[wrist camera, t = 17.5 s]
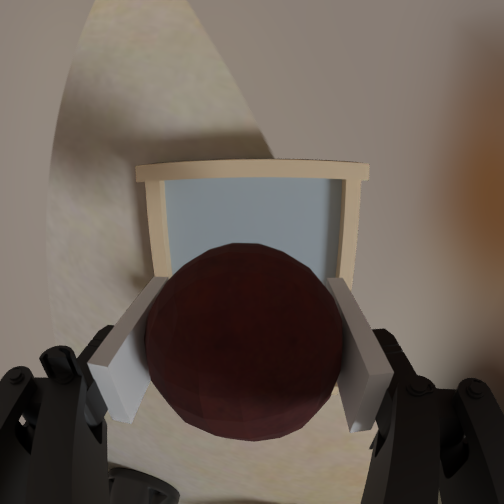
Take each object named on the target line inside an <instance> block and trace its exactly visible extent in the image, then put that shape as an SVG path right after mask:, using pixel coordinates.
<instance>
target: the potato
mask: <svg viewBox="0 0 504 504" xmlns="http://www.w3.org/2000/svg"><path fill="white" fill-rule="evenodd" d="M144 342H145V349H146V356H147V362H148V368H149V374H150V379H151V381H152V382H153V384H154V385H155V387H156V388H157V389H158V391H159V392H160V393H161V395H162V396H163V397H164V399H165V400H166V401H167V402H168V404H169V405H170V406H171V407H172V408H173V409H174V411H175V412H176V413H177V414H178V415H179V416H180V417H181V418H182V419H183V420H184V421H185V422H186V423H188V424H190V425H193V426H195V427H197V428H199V429H201V430H204V431H206V432H208V433H211V434H213V435H215V436H219V437H224V438H230V439H237V440H245V441H261V440H268V439H275V438H281V437H283V436H285V435H288V434H290V433H292V432H294V431H296V430H299V429H301V428H302V427H303V426H304V425H305V424H306V423H307V422H308V421H309V420H310V419H311V418H312V417H313V416H314V415H315V414H316V413H317V412H318V411H319V410H320V408H321V407H322V406H323V405H324V404H325V403H326V402H327V401H328V399H329V398H330V396H331V394H332V391H333V389H334V387H335V384H336V381H337V379H338V376H339V374H340V371H341V361H342V318H341V316H340V313H339V310H338V307H337V305H336V302H335V299H334V297H333V296H332V295H331V293H330V292H329V291H328V289H327V288H326V287H325V286H324V284H323V283H322V282H321V281H320V280H319V278H318V277H317V276H316V275H315V274H314V272H313V271H312V270H311V269H310V268H309V267H307V266H306V265H304V264H303V263H301V262H299V261H298V260H296V259H295V258H293V257H291V256H290V255H288V254H286V253H285V252H283V251H281V250H278V249H275V248H272V247H269V246H266V245H263V244H260V243H230V244H226V245H223V246H219V247H216V248H212V249H209V250H207V251H206V252H204V253H202V254H201V255H199V256H197V257H196V258H194V259H192V260H191V261H189V262H188V263H186V264H184V265H183V266H182V267H181V268H180V269H179V270H178V271H177V272H176V273H175V274H174V275H173V276H172V277H171V278H170V279H169V280H168V281H167V282H166V283H165V285H164V286H163V288H162V290H161V291H160V293H159V294H158V296H157V298H156V299H155V301H154V303H153V305H152V307H151V309H150V311H149V313H148V318H147V324H146V330H145V336H144Z"/></svg>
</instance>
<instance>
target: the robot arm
mask: <svg viewBox="0 0 504 504" xmlns="http://www.w3.org/2000/svg"><path fill="white" fill-rule="evenodd" d="M168 280H169V278H168V277H153V278H152V279H151V280H150V282H149V283H148V284H147V285H146V287H145V288H144V289H143V290H142V292H141V293H140V294H139V295H138V297H137V298H136V299H135V300H134V302H133V303H132V304H131V305H130V307H129V308H128V309H127V311H126V312H125V313H124V314H123V316H122V317H121V318H120V320H119V321H118V322H117V323H116V325H115V326H114V325H107V326H106V327H104V328H103V329H101V330H99V331H98V333H97V334H96V335H95V336H94V337H93V340H91V341H90V343H89V344H88V346H86V348H85V349H84V350H83V351H82V353H81V354H80V355H79V357H78V358H77V359H76V356H75V354H74V351H73V350H72V349H71V348H70V347H68V346H55V347H52V348H49V349H47V350H46V351H45V352H43V353H42V355H41V356H40V358H39V359H40V361H41V363H42V366H43V368H44V370H45V372H46V374H47V376H48V378H34V376H33V374H32V372H31V371H30V369H29V368H27V367H24V366H18V367H14V368H12V369H10V370H9V371H8V372H7V373H6V374H5V375H4V376H3V378H2V379H1V381H0V504H178V502H179V497H180V494H179V492H178V491H177V490H176V489H175V488H173V487H172V486H170V485H169V484H167V483H165V482H163V481H161V480H159V479H157V478H154V477H152V476H149V475H146V474H143V473H140V472H137V471H133V470H129V469H123V468H114V469H111V470H110V471H109V474H108V461H107V424H106V421H105V419H104V416H105V414H106V412H107V410H108V411H109V413H110V415H111V417H112V419H113V420H116V421H120V422H125V423H129V424H132V421H133V419H134V417H135V414H136V412H137V410H138V407H139V405H140V403H141V400H142V398H143V396H144V394H145V391H146V389H147V387H148V385H149V382H150V380H151V379H150V374H149V368H148V362H147V356H146V349H145V342H144V336H145V330H146V324H147V318H148V313H149V311H150V309H151V307H152V305H153V303H154V301H155V299H156V298H157V296H158V294H159V293H160V291H161V290H162V288H163V286H164V285H165V283H166V282H167V281H168ZM326 288H327V289H328V291H329V292H330V293H331V295H332V296H333V297H334V299H335V302H336V305H337V307H338V310H339V313H340V316H341V318H342V361H341V371H340V374H339V376H338V379H337V385H338V388H339V392H340V396H341V400H342V403H343V407H344V411H345V415H346V419H347V423H348V427H349V431H350V433H351V432H358V431H365V430H371V428H372V426H373V424H374V422H375V419H376V422H377V425H378V428H379V429H378V432H377V434H376V436H375V438H374V440H373V442H372V444H371V446H370V448H369V449H373V452H372V457H371V462H370V467H369V471H368V476H367V480H366V484H365V489H364V493H363V496H362V500H361V504H438V492H439V491H440V496H441V501H442V504H504V414H503V412H502V411H501V409H500V407H499V405H498V403H497V401H496V399H495V397H494V395H493V393H492V392H491V390H490V388H489V387H488V386H487V384H486V383H484V382H483V381H481V380H478V379H476V378H467V379H464V380H462V381H461V382H460V383H459V385H458V387H457V389H456V390H455V389H437V388H436V387H435V385H434V384H433V383H432V382H431V381H430V380H429V379H427V378H425V377H423V376H418V375H417V374H416V372H415V371H414V369H413V367H412V365H411V364H410V362H409V360H408V359H407V357H406V355H405V354H404V352H403V350H402V349H401V347H400V346H399V344H398V342H397V340H396V339H395V337H394V335H392V334H391V333H390V332H388V331H387V330H386V329H373V330H372V329H371V327H370V325H369V324H368V322H367V320H366V318H365V316H364V315H363V313H362V311H361V309H360V307H359V305H358V304H357V302H356V300H355V298H354V296H353V295H352V293H351V291H350V289H349V288H348V286H347V284H346V283H345V281H344V279H343V278H327V283H326ZM21 415H22V416H23V417H24V418H25V420H26V422H25V424H24V425H21V423H20V422H19V419H20V417H21Z"/></svg>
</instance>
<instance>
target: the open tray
mask: <svg viewBox="0 0 504 504" xmlns="http://www.w3.org/2000/svg"><path fill="white" fill-rule="evenodd" d="M369 165H370V164H367V163H359V162H348V161H331V160H309V159H221V160H198V161H181V162H167V163H155V164H147V165H139V166H135V170H136V183H137V182H145V188H146V202H147V214H148V225H149V234H150V243H151V252H152V260H153V268H154V275H155V277H168V278H169V279H170V278H171V277H172V276H173V275H174V274H175V273H176V272H177V271H178V270H179V269H180V268H181V267H182V266H183V265H184V264H186V263H188V262H189V261H191V260H192V259H194V258H196V257H197V256H199V255H201V254H202V253H204V252H206V251H207V250H209V249H212V248H216V247H219V246H223V245H226V244H230V243H260V244H263V245H266V246H269V247H272V248H275V249H278V250H281V251H283V252H285V253H286V254H288V255H290V256H291V257H293V258H295V259H296V260H298V261H299V262H301V263H303V264H304V265H306V266H307V267H309V268H310V269H311V270H312V271H313V272H314V274H315V275H316V276H317V277H318V278H319V280H320V281H321V282H322V283H323V284H324V286H325V287H326V283H327V278H343V279H344V281H345V283H346V284H347V286H348V288H349V289H350V291H351V289H352V282H353V274H354V266H355V257H356V247H357V237H358V224H359V211H360V195H361V180H365V181H369ZM338 391H339V388H338V385H337V381H336V384H335V387H334V389H333V391H332V394H331V395H338Z"/></svg>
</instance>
